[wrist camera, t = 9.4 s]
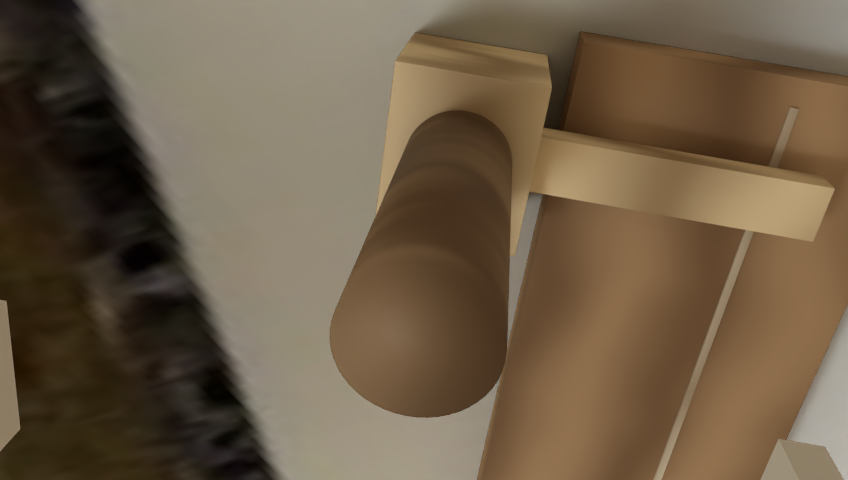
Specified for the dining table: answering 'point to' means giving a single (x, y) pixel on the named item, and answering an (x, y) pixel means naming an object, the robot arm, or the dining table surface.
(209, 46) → the dining table surface
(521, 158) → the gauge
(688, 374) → the board
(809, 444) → the robot arm
